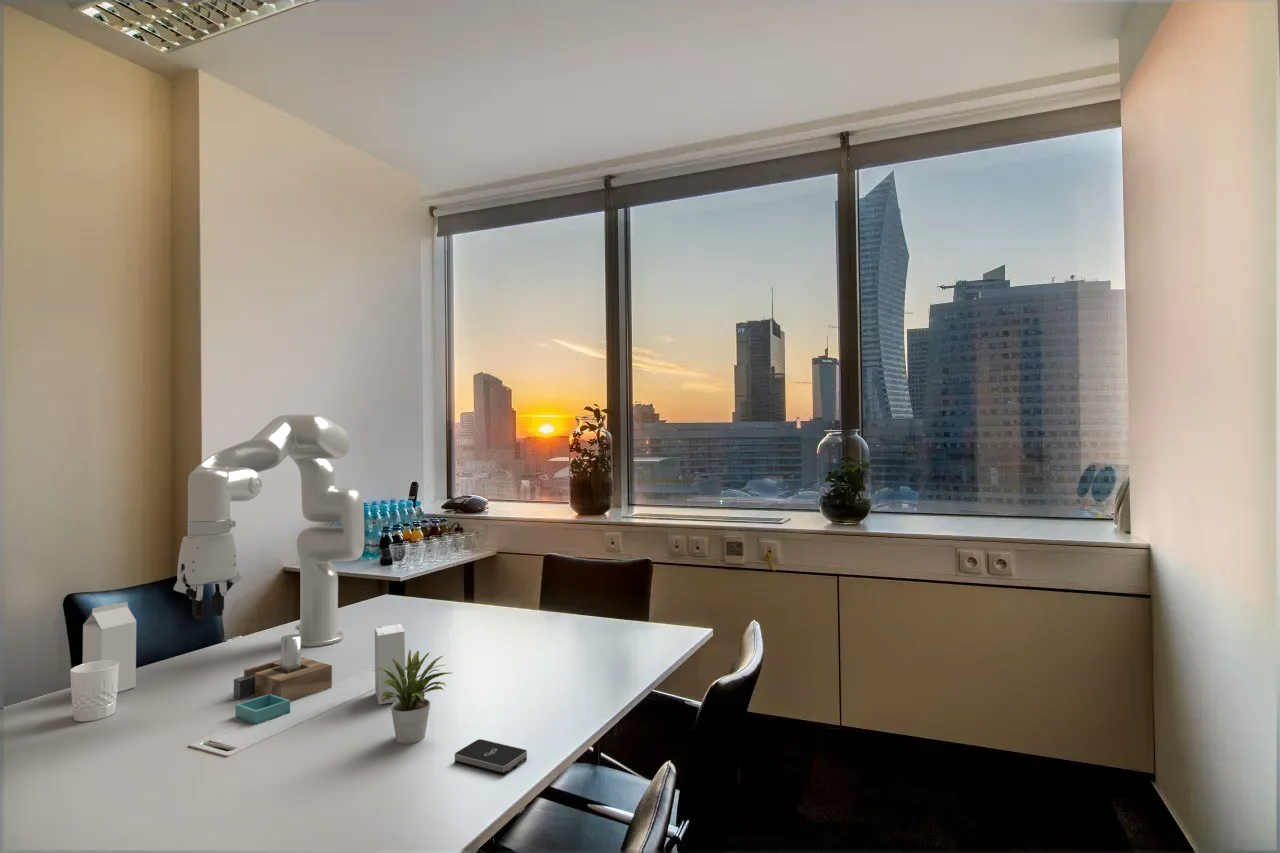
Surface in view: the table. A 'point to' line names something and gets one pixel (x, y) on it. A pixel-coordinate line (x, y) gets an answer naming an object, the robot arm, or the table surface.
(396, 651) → the skincare box
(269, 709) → the tray
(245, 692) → the bar
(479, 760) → the external hard drive
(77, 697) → the white cup
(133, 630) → the milk carton
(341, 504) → the robot arm
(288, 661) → the peg
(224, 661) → the table surface
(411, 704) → the house plant
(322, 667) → the socket block
